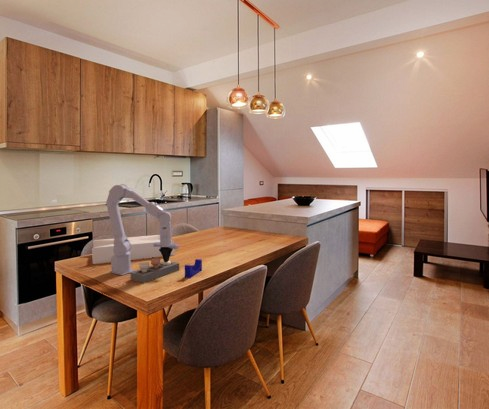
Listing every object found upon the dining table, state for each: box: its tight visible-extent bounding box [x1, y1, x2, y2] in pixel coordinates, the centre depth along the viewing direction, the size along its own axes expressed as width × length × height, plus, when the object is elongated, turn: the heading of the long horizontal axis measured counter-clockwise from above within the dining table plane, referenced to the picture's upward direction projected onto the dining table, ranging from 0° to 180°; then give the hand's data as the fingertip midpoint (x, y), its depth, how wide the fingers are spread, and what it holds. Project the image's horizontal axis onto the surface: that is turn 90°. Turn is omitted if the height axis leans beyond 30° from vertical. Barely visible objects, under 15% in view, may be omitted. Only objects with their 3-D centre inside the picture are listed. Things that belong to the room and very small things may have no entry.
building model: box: [91, 234, 176, 265], centre depth 192 cm, size 45×22×10 cm, turn 114°
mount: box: [129, 261, 180, 284], centre depth 155 cm, size 9×23×4 cm, turn 148°
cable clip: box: [184, 258, 203, 279], centre depth 156 cm, size 12×4×6 cm, turn 161°
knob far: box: [161, 260, 172, 266], centre depth 161 cm, size 4×4×5 cm
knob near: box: [138, 261, 150, 274], centre depth 149 cm, size 4×4×5 cm
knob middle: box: [150, 257, 161, 270], centre depth 155 cm, size 4×4×5 cm
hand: (166, 261), depth 161 cm, fingers closed, pressing on knob far
